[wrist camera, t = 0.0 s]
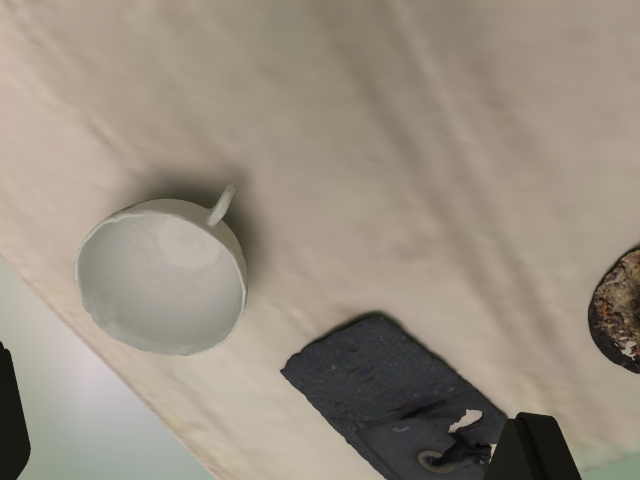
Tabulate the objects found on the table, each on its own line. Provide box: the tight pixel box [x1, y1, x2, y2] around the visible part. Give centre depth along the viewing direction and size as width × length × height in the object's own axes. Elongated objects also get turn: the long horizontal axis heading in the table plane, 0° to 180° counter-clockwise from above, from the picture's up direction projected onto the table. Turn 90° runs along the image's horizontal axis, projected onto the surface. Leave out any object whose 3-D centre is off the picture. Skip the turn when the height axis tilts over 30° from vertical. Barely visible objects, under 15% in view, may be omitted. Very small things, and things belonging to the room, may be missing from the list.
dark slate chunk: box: [280, 316, 508, 480], centre depth 49 cm, size 15×22×5 cm
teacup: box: [74, 184, 248, 356], centre depth 40 cm, size 15×12×8 cm
